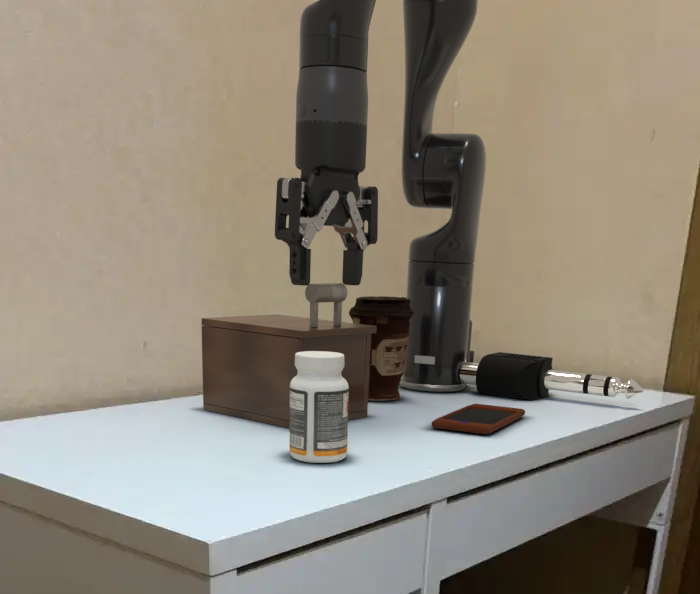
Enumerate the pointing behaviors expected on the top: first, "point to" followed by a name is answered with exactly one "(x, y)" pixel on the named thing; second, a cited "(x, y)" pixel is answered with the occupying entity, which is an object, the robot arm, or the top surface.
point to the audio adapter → (537, 378)
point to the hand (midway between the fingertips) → (326, 285)
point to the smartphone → (478, 418)
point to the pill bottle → (319, 408)
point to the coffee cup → (385, 341)
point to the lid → (299, 318)
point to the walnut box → (273, 372)
